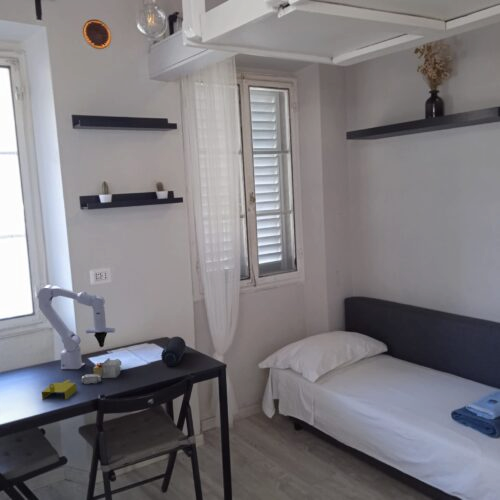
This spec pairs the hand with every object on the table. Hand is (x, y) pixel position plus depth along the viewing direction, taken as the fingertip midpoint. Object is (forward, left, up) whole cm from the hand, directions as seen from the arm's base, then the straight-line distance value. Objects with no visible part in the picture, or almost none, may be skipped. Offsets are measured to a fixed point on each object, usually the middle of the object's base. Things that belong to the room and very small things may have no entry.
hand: (101, 346), depth 268 cm
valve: (+7, -16, -9) cm, 20 cm away
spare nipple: (+4, -25, -10) cm, 27 cm away
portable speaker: (+36, +5, -10) cm, 37 cm away
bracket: (-4, -39, -10) cm, 40 cm away
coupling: (+11, -13, -9) cm, 19 cm away
